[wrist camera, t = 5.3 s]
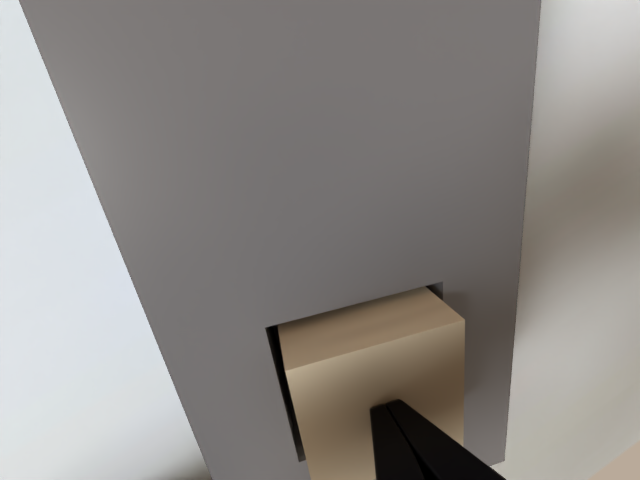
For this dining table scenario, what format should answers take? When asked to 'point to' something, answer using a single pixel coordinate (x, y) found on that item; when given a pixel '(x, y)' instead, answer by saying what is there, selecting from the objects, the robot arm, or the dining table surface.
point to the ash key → (372, 375)
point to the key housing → (302, 184)
